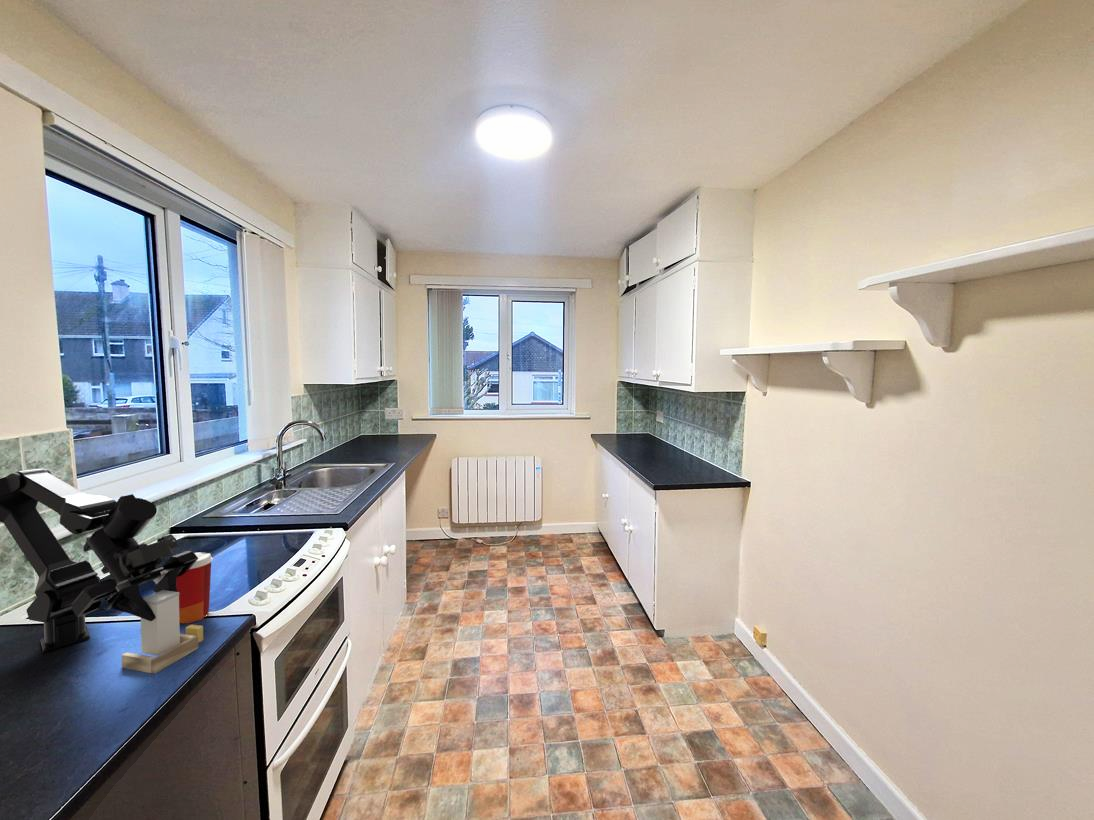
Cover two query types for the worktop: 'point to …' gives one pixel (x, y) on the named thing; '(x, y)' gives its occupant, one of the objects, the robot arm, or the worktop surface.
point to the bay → (160, 656)
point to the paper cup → (195, 590)
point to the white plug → (161, 623)
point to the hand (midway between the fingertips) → (165, 613)
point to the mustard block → (195, 631)
